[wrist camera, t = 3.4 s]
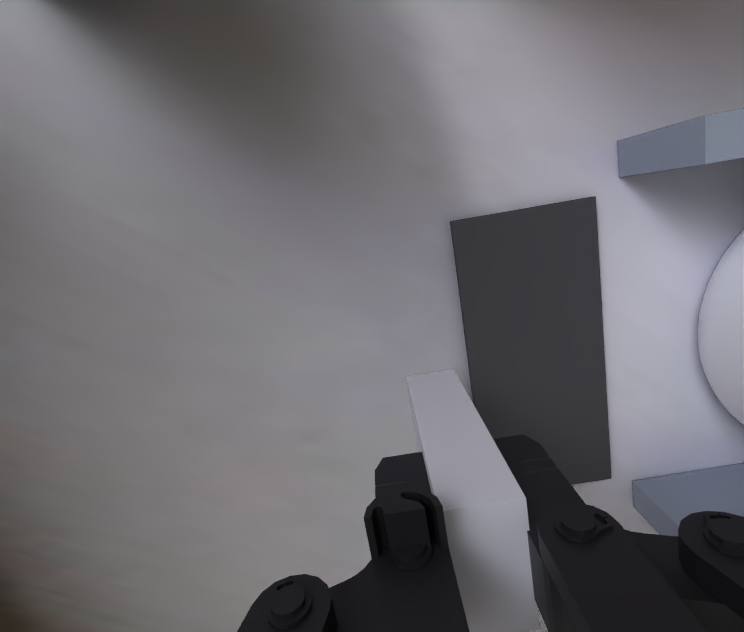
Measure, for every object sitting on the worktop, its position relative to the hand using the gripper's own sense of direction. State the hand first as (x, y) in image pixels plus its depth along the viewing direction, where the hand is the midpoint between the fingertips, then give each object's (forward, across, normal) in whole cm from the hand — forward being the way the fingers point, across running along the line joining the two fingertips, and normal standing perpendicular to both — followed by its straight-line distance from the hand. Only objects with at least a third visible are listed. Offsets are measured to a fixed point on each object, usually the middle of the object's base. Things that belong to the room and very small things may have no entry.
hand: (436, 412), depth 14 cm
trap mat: (+3, +4, 0) cm, 5 cm away
